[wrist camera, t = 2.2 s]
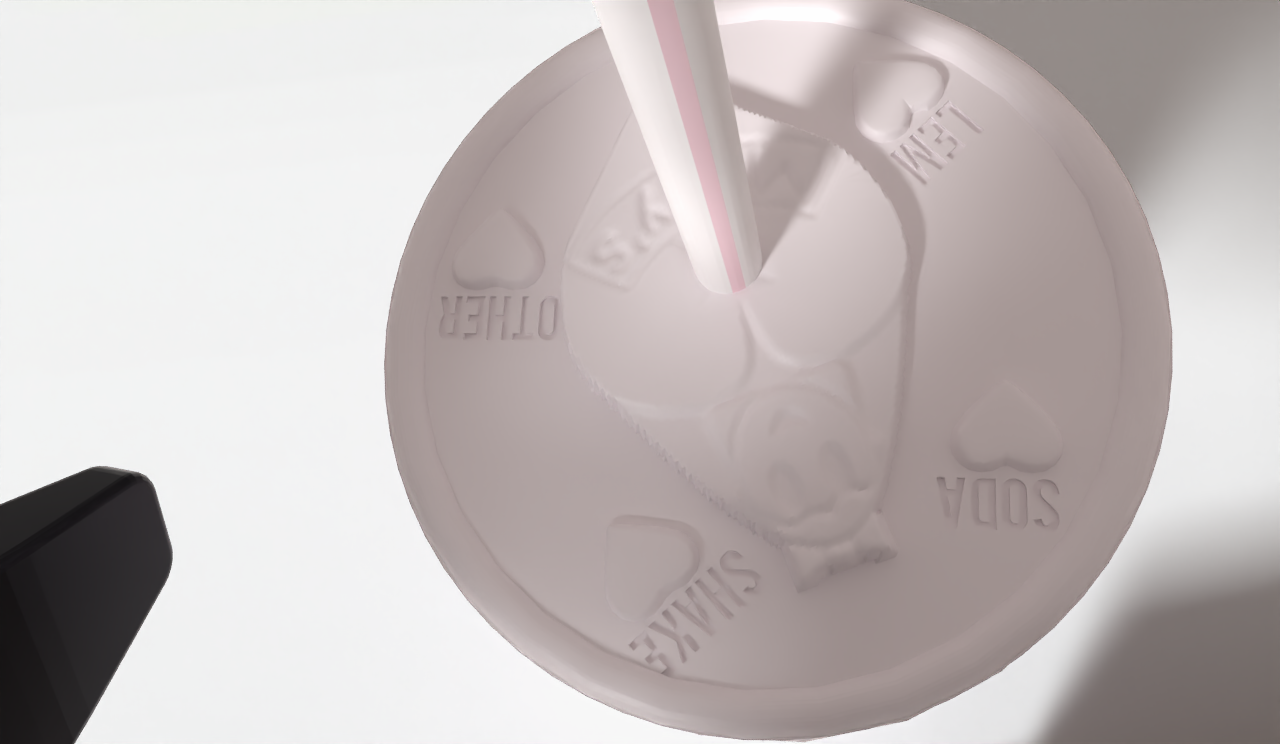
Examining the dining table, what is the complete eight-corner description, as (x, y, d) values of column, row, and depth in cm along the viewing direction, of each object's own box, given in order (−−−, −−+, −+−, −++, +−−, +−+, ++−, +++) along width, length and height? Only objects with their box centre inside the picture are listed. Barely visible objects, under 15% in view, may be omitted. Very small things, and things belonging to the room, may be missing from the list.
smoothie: (903, 248, 19) (1078, -765, 5) (1070, 611, 17) (1986, 484, 3) (555, 384, 19) (-104, -224, 6) (679, 752, 17) (145, 1125, 4)
